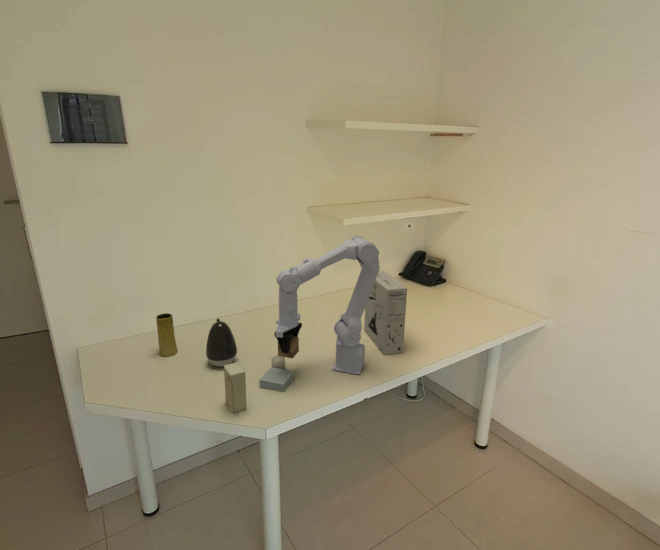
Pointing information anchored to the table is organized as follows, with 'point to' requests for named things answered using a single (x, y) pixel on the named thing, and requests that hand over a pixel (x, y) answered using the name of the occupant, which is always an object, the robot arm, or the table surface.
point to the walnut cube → (293, 348)
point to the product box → (386, 314)
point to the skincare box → (235, 387)
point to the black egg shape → (220, 345)
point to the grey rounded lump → (278, 362)
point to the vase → (166, 335)
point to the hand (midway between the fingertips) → (288, 348)
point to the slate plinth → (276, 379)
